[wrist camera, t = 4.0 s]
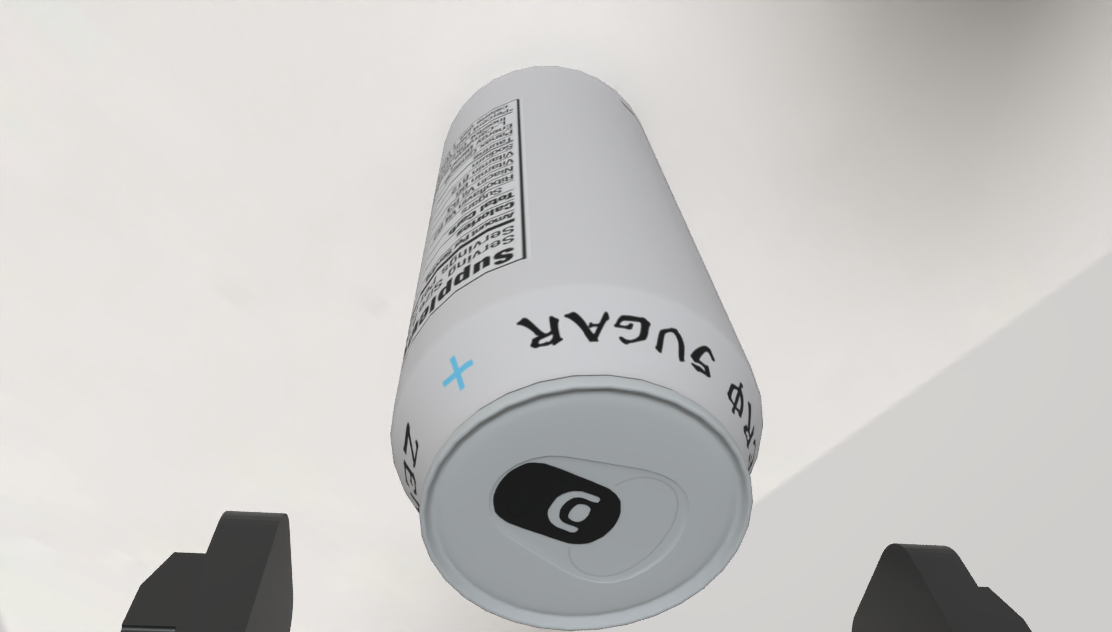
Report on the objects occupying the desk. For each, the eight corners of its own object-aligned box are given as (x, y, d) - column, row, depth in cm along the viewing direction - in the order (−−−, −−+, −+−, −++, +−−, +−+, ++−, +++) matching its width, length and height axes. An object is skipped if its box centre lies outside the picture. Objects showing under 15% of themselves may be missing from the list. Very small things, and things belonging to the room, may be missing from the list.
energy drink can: (582, 278, 27) (652, 693, 14) (411, 199, 25) (313, 590, 12) (683, 117, 24) (881, 446, 11) (499, 17, 23) (492, 271, 10)
